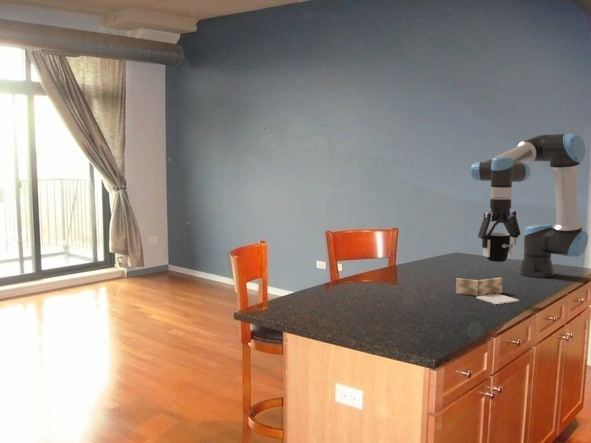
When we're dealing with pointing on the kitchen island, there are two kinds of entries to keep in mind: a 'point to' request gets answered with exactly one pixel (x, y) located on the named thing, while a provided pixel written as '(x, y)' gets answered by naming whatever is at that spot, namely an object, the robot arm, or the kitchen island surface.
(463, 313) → the kitchen island surface
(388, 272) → the kitchen island surface
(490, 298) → the plate
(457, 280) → the wooden boomerang
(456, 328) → the kitchen island surface
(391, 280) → the kitchen island surface
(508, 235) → the mug
